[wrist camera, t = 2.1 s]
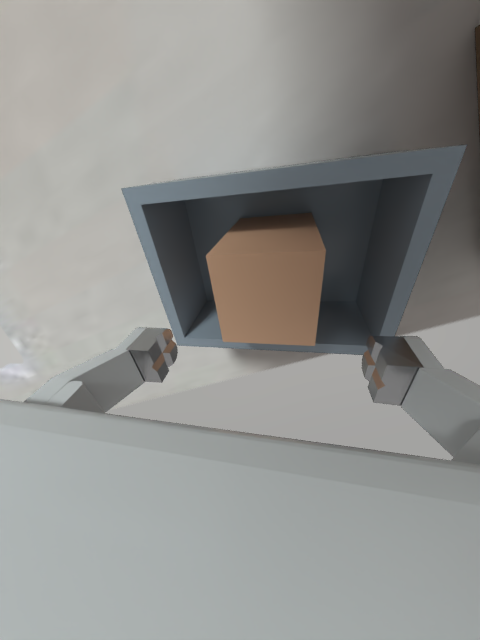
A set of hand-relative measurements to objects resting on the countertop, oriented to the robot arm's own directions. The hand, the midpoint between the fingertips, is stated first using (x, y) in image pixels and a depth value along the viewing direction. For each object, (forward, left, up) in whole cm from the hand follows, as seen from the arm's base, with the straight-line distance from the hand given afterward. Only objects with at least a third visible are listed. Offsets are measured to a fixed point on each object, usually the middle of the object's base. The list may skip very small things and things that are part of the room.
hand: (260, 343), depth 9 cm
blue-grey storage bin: (-1, 0, -11) cm, 11 cm away
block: (-1, 0, -10) cm, 10 cm away
